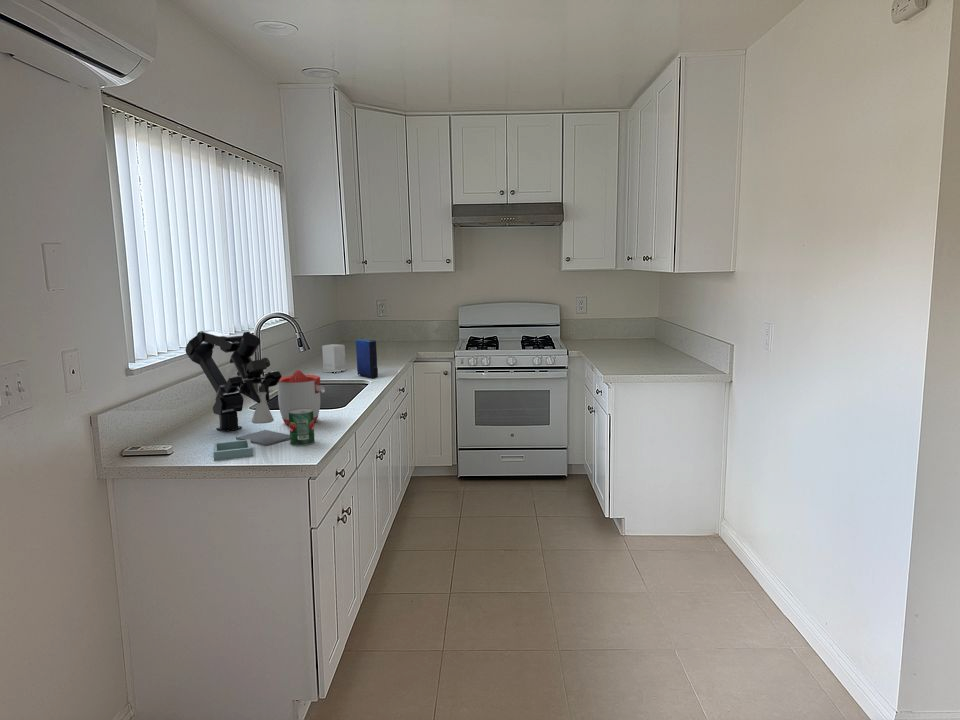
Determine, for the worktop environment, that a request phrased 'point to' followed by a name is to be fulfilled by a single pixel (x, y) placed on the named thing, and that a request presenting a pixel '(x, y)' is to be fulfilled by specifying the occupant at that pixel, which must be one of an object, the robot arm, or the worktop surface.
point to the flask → (262, 411)
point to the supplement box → (333, 357)
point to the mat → (265, 437)
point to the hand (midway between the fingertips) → (264, 401)
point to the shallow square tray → (232, 449)
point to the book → (366, 358)
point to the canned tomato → (301, 426)
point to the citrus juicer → (299, 394)
